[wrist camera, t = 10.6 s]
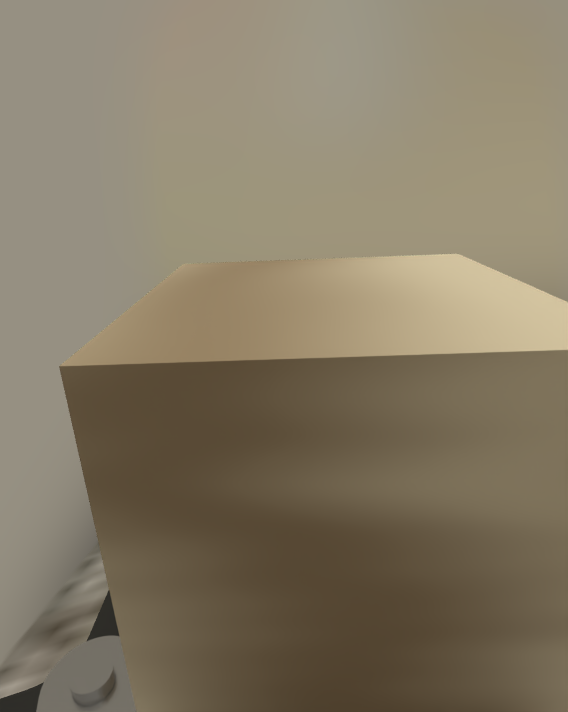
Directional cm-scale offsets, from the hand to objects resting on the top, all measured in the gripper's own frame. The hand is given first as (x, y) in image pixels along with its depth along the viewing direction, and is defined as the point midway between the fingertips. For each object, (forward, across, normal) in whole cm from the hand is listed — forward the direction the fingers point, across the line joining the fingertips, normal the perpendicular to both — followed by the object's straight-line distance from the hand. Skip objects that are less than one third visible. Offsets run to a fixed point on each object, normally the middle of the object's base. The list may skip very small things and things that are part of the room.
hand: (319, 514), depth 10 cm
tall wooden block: (-3, 0, +6) cm, 7 cm away
